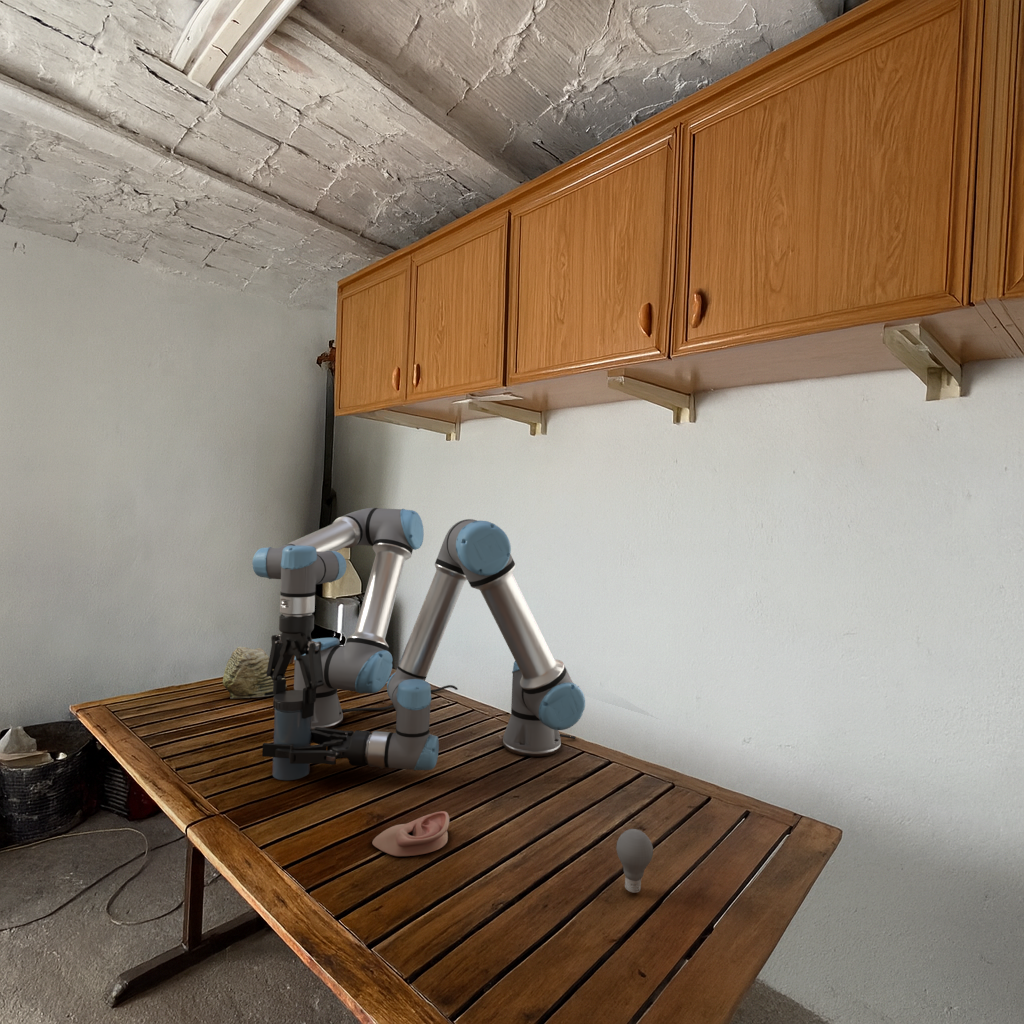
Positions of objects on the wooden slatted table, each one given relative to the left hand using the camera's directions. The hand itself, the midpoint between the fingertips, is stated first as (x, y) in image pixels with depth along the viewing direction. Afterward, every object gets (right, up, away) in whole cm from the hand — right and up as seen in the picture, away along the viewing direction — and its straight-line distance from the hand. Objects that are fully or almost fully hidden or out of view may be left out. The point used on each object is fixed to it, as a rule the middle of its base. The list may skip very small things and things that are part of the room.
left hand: (293, 712), depth 144 cm
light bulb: (+70, -18, -39) cm, 82 cm away
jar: (-1, -14, 0) cm, 14 cm away
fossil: (-31, -11, +54) cm, 63 cm away
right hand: (-5, -7, 0) cm, 9 cm away
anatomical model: (+31, -16, -26) cm, 44 cm away
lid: (0, +3, 0) cm, 3 cm away
